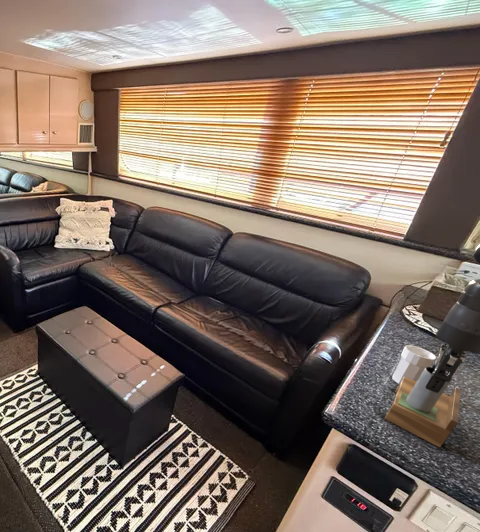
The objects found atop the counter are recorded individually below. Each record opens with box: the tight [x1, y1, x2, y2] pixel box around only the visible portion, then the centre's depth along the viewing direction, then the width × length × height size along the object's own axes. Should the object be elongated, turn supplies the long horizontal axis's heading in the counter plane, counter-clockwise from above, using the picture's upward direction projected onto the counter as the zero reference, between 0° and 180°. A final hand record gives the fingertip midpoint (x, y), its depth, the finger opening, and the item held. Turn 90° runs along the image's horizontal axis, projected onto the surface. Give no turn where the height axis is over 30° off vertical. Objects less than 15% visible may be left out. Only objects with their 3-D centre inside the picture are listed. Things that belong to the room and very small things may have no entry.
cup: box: [391, 344, 437, 385], centre depth 94 cm, size 7×7×11 cm
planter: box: [406, 366, 453, 412], centre depth 78 cm, size 4×4×10 cm
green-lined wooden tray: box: [384, 377, 462, 448], centre depth 82 cm, size 18×10×8 cm, turn 129°
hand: (432, 382), depth 77 cm, fingers open, 8 cm apart
